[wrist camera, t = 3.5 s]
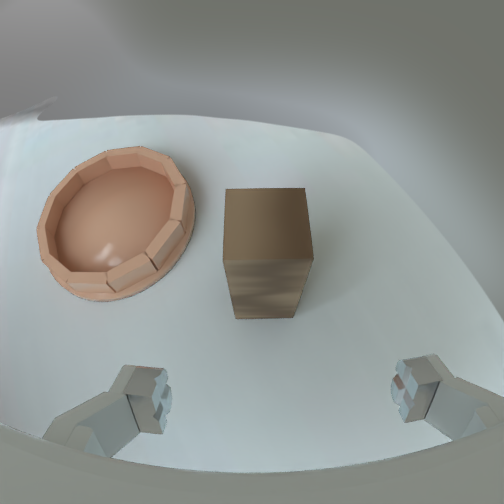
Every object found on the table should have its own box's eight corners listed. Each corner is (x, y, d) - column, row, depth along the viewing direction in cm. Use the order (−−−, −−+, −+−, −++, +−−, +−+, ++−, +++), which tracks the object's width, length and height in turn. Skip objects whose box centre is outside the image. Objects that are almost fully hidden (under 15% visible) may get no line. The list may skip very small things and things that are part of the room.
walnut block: (235, 318, 24) (222, 260, 15) (236, 267, 26) (225, 189, 18) (292, 317, 24) (313, 258, 15) (289, 266, 26) (304, 188, 17)
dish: (32, 297, 25) (16, 286, 22) (72, 170, 33) (63, 154, 30) (187, 304, 25) (180, 291, 22) (202, 157, 32) (198, 137, 30)
